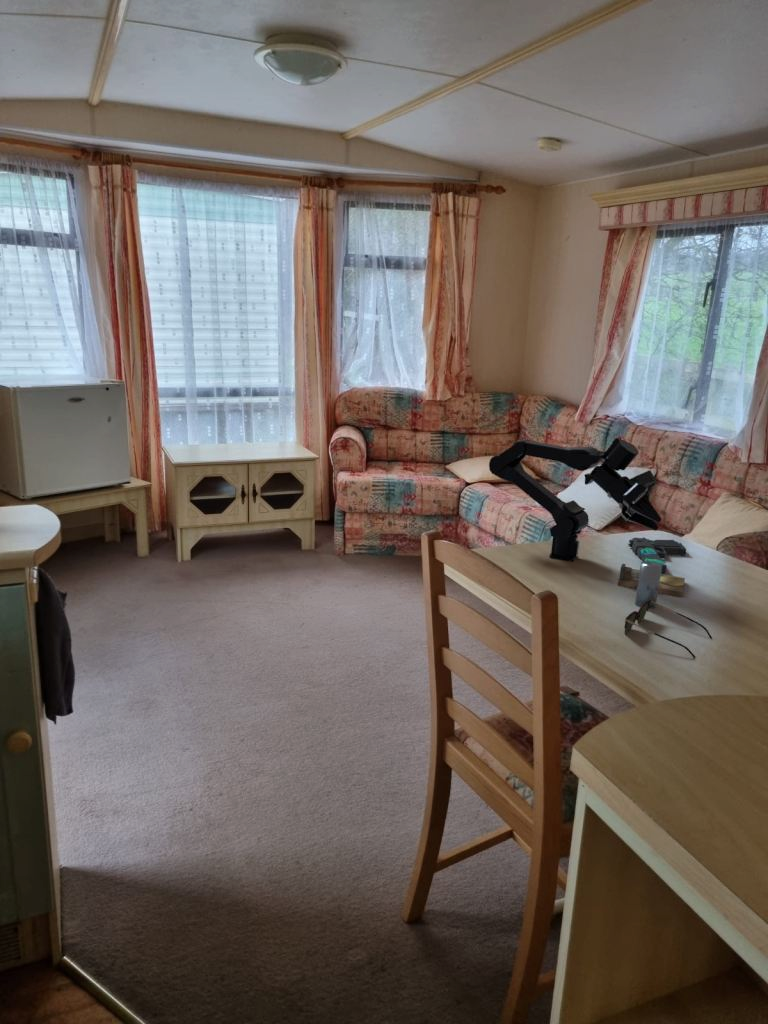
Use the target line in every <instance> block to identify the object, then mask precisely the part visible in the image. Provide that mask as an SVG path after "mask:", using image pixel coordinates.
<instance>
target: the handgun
mask: <svg viewBox="0 0 768 1024" xmlns="http://www.w3.org/2000/svg"><path fill="white" fill-rule="evenodd" d="M627 544H628V546H629V547H630V548H631V551H632V552H633V553H634V554H635V556H638V558H639V559H641V562H643V561H652V562H656V563H659V564H661V565H662V570H661V574H665V575H666V572H667V569H668V568H667V565H666V563H665V562H664V560H665V559H666V558H667V556H681V557H684V556H686V554H687V548H686V546H684V545H683V544H682V543H681V542H678V541H675V540H674V539H655V540H653V539H649V538H646V537H633V538H632V539H629V540H628V543H627ZM663 559H664V560H663Z"/></svg>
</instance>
